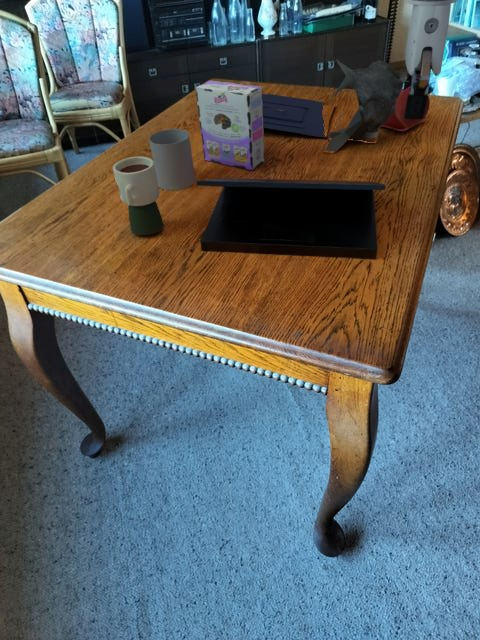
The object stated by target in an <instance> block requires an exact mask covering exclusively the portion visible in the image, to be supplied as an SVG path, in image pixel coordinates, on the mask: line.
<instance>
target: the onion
mask: <svg viewBox="0 0 480 640" xmlns="http://www.w3.org/2000/svg"><path fill="white" fill-rule="evenodd" d="M416 82H417V81H415V83H416ZM410 88H411V86H410V87H408V88H407V89H405V90H404V91H403V92H402V93H401V94H400V95H399V97H398V99H397V101H396V105H395V114H396V117H397V118H398V119H399V121H400V122H402V123H403V124H404V126H405V127H406V128H410V129H411V128H413V127H415V126H416V124H417V123H419V122H420V121H421V120H423V119H424V117H427V114H428V112H429V109H430V104H431V103H430V102H431V101H430V96H429V95H428V97H427V102H426V107H425V113H424V117H423V119H405V118H404V113H405V108H406V102H407V96H408V94H410ZM420 123H421V122H420ZM420 123H419V124H420ZM414 125H415V126H414ZM417 125H418V124H417ZM412 126H413V127H412Z"/></svg>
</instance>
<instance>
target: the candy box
mask: <svg viewBox="0 0 480 640" xmlns="http://www.w3.org/2000/svg"><path fill="white" fill-rule="evenodd" d="M194 89H195V96H196V97H195V98H196V104H197V111H198V112H197V113H198V120H199V128H200V136H201V142H202V150H203V159H204V161H206V160H207V162H210V163H216V164H221V165H225V166H231V167H235V168H238V169H239V168H240V169H244V170H249V171H253V170H255V169H256V168H258V167H259V166H260V165H262V164H263V163H265V140H264V139H265V138H264V135H265V133H264V132H265V131H264V128H263V104H262V94H263V86H262V85H261V86H259V85H251V84H242V83H234V82H227V81H218V80H211V79H210V80H208V81H206V82H203V83H202V84H200V85H197V86H195V88H194Z"/></svg>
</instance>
